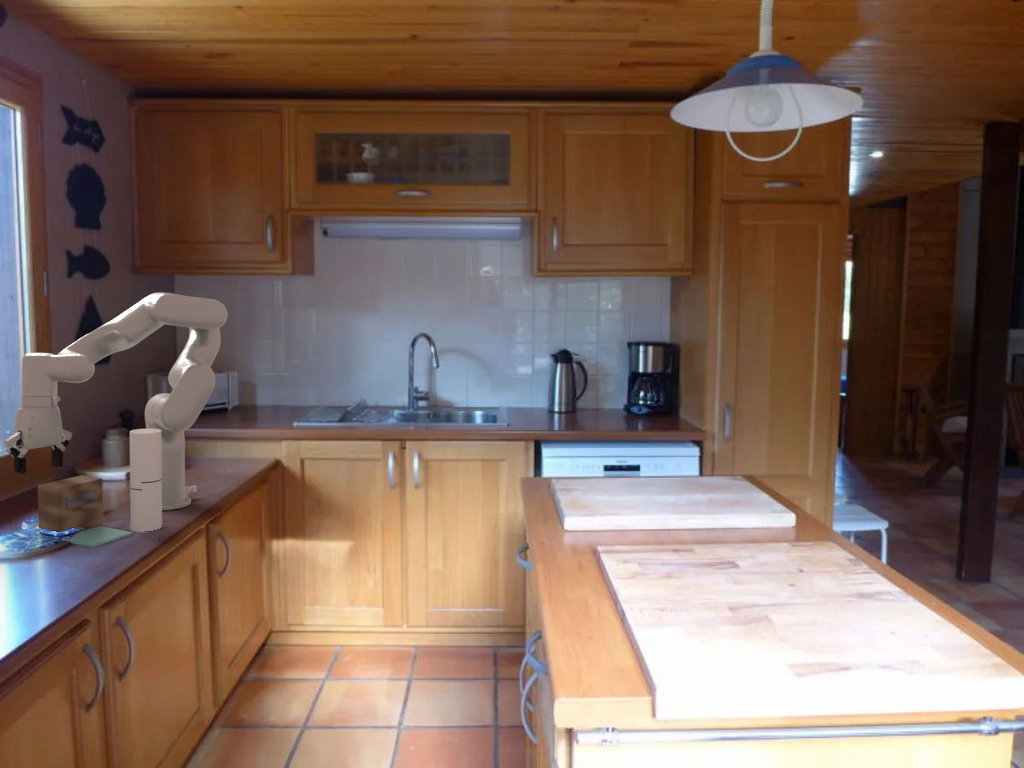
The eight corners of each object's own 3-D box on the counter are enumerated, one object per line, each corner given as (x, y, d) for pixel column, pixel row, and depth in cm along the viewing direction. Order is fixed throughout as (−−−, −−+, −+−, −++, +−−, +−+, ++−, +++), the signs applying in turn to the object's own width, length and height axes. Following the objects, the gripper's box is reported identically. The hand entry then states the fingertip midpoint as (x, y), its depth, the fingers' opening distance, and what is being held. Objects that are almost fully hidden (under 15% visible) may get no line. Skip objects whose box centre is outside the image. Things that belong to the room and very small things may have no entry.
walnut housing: (81, 520, 191) (80, 474, 190) (104, 524, 189) (103, 478, 187) (37, 532, 180) (35, 484, 179) (60, 537, 177) (59, 488, 176)
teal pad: (100, 528, 186) (100, 525, 186) (132, 534, 182) (132, 532, 182) (59, 540, 175) (59, 538, 175) (93, 547, 172) (93, 545, 172)
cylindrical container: (161, 531, 185) (160, 433, 183) (129, 533, 183) (128, 433, 180) (162, 523, 192) (162, 428, 189) (132, 524, 189) (131, 428, 187)
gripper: (60, 398, 194) (60, 462, 195) (-6, 403, 178) (-6, 473, 179) (81, 400, 191) (80, 465, 193) (15, 406, 175) (15, 477, 177)
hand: (39, 469), depth 186 cm, fingers open, 9 cm apart
